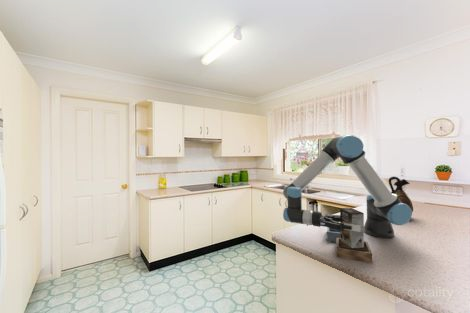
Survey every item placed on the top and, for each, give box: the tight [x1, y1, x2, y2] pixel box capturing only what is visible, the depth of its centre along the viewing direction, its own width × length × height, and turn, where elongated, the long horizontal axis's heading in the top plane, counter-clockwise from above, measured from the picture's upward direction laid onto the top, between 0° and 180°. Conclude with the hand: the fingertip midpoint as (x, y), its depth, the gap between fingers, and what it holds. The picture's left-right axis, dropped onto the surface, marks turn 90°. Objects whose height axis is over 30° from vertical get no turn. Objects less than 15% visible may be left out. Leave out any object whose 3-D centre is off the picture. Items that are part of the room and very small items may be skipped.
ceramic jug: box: [388, 176, 414, 213], centre depth 158 cm, size 17×15×30 cm
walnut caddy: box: [335, 238, 373, 264], centre depth 103 cm, size 14×14×4 cm
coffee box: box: [339, 207, 365, 249], centre depth 103 cm, size 9×6×16 cm
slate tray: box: [326, 227, 341, 243], centre depth 122 cm, size 15×15×5 cm
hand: (361, 225), depth 100 cm, fingers closed on coffee box, 10 cm apart
